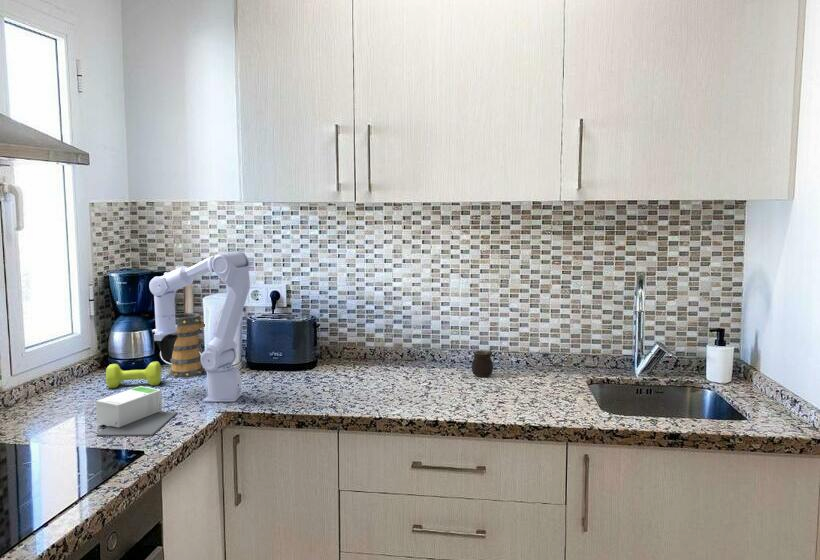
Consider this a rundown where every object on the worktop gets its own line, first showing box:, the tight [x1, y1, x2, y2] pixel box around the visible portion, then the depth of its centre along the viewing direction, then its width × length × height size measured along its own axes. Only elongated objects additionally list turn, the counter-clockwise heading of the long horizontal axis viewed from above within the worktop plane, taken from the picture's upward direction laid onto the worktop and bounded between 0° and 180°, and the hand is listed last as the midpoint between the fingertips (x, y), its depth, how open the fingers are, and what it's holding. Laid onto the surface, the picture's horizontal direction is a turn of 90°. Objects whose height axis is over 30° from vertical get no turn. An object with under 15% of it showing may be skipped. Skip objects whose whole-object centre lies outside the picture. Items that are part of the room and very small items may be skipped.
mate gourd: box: [471, 347, 494, 378], centre depth 227 cm, size 7×8×10 cm
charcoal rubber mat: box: [96, 411, 178, 437], centre depth 183 cm, size 14×18×1 cm
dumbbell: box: [105, 361, 163, 389], centre depth 221 cm, size 16×8×7 cm, turn 101°
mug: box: [167, 312, 205, 379], centre depth 234 cm, size 13×17×20 cm
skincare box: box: [95, 385, 163, 428], centre depth 186 cm, size 8×7×16 cm
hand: (167, 359), depth 211 cm, fingers closed
